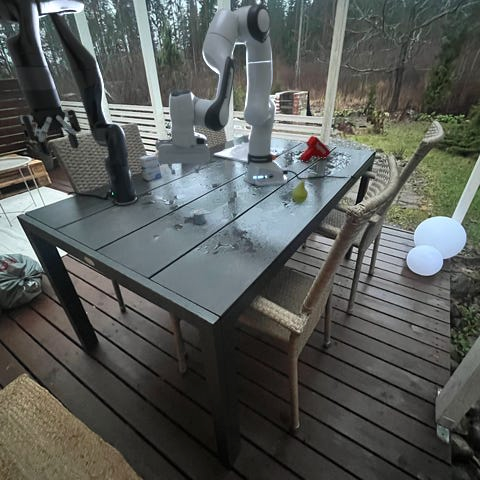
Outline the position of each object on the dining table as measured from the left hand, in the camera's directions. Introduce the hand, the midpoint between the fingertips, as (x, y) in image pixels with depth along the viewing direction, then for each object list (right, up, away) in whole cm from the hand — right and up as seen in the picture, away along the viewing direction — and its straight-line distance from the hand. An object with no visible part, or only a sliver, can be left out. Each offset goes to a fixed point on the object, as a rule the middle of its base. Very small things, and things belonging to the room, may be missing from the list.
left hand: (61, 151), depth 78 cm
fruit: (+78, -9, +43) cm, 90 cm away
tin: (+36, -19, +28) cm, 49 cm away
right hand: (+29, +1, +32) cm, 43 cm away
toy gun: (+100, +26, +96) cm, 141 cm away
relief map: (+56, +32, +107) cm, 125 cm away
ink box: (+4, +8, +70) cm, 71 cm away
